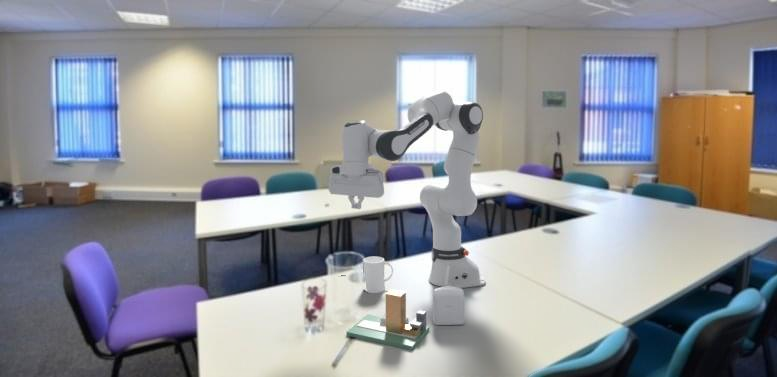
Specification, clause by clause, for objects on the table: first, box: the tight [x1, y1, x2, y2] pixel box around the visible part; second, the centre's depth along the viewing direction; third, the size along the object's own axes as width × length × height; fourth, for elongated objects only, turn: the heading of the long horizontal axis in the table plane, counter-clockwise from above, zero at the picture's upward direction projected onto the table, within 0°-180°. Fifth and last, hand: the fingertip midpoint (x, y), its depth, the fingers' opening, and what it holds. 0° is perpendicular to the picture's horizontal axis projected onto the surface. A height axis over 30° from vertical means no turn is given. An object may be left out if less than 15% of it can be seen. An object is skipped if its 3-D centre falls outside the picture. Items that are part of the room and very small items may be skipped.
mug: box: [362, 255, 394, 294], centre depth 187 cm, size 12×8×12 cm
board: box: [346, 309, 430, 351], centre depth 151 cm, size 22×14×6 cm, turn 65°
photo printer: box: [432, 286, 465, 326], centre depth 157 cm, size 10×4×12 cm, turn 90°
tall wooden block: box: [385, 288, 420, 336], centre depth 148 cm, size 10×4×12 cm, turn 65°
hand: (356, 208), depth 168 cm, fingers closed
